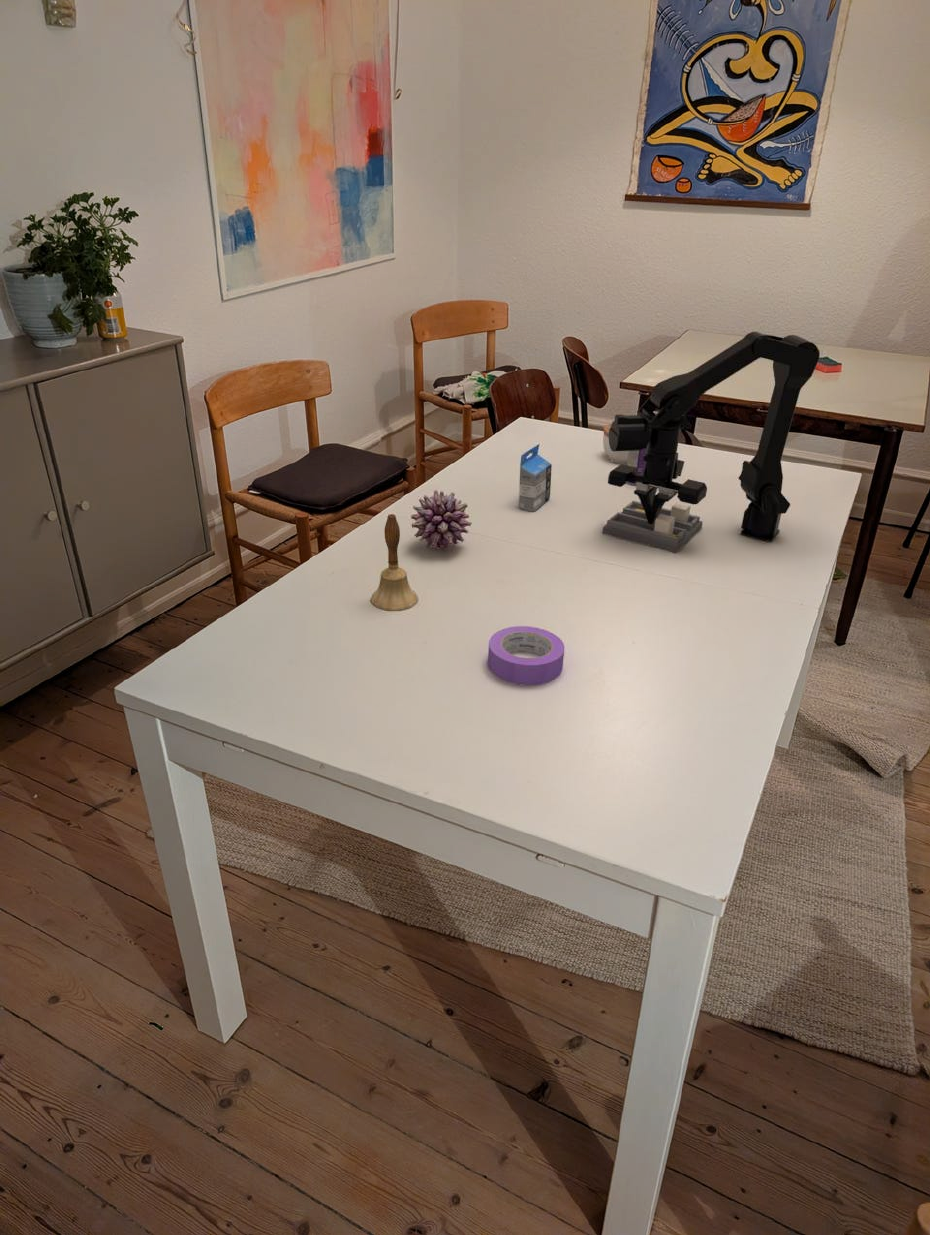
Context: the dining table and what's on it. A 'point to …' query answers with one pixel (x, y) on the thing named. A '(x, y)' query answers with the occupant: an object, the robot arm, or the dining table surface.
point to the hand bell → (393, 576)
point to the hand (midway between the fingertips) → (651, 523)
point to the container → (637, 461)
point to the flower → (440, 520)
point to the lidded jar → (613, 455)
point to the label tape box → (534, 480)
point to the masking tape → (525, 668)
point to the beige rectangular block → (680, 511)
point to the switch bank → (650, 528)
